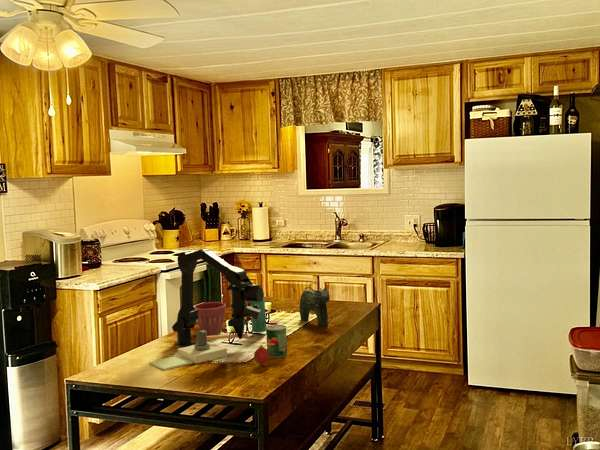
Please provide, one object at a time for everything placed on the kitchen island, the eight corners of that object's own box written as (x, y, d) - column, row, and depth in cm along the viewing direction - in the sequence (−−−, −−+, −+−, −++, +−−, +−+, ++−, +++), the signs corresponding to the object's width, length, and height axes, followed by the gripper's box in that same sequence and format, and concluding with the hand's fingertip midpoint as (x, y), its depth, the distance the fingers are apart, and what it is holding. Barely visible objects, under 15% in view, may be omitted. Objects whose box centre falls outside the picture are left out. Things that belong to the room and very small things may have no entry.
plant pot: (206, 338, 287) (204, 309, 286) (189, 333, 297) (187, 305, 296) (233, 332, 296) (231, 304, 295) (215, 327, 307) (214, 300, 305)
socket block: (178, 356, 261) (177, 344, 260) (208, 349, 269) (208, 338, 269) (195, 363, 250) (195, 351, 249) (227, 355, 258) (226, 344, 258)
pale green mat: (149, 363, 252) (149, 362, 252) (177, 357, 259) (177, 355, 259) (163, 370, 242) (163, 368, 242) (192, 363, 250) (192, 361, 250)
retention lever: (198, 340, 264) (198, 337, 264) (198, 339, 266) (198, 336, 266) (247, 337, 267) (247, 334, 267) (247, 336, 269) (247, 333, 269)
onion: (254, 364, 246) (253, 343, 245) (269, 363, 246) (268, 342, 246) (254, 368, 240) (253, 347, 240) (270, 367, 241) (269, 346, 240)
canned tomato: (290, 352, 260) (289, 325, 259) (283, 358, 253) (282, 330, 252) (271, 351, 263) (270, 324, 262) (264, 356, 255) (262, 329, 254)
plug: (192, 356, 260) (190, 331, 259) (205, 353, 264) (204, 328, 263) (199, 359, 255) (198, 334, 254) (213, 356, 259) (211, 331, 258)
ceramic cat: (332, 325, 302) (330, 282, 300) (320, 328, 298) (319, 284, 297) (307, 318, 318) (305, 277, 317) (296, 320, 315) (294, 279, 313)
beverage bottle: (264, 336, 287) (262, 291, 286) (250, 335, 289) (248, 291, 287) (268, 332, 294) (266, 288, 292) (254, 332, 295) (252, 288, 293)
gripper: (254, 304, 255) (256, 344, 256) (262, 296, 273) (263, 333, 274) (226, 305, 256) (228, 344, 257) (235, 296, 274) (237, 333, 275)
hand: (240, 338), depth 266 cm, fingers closed
